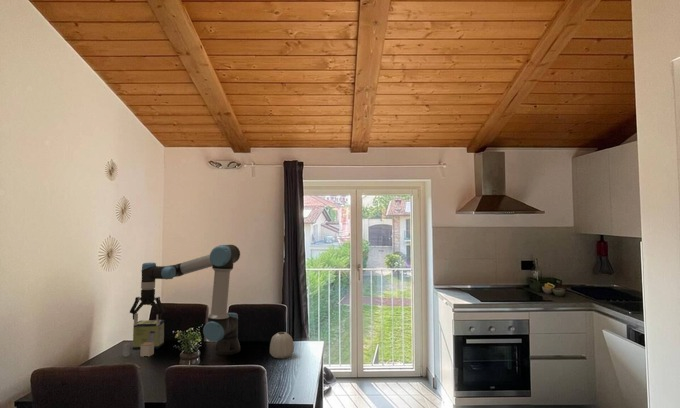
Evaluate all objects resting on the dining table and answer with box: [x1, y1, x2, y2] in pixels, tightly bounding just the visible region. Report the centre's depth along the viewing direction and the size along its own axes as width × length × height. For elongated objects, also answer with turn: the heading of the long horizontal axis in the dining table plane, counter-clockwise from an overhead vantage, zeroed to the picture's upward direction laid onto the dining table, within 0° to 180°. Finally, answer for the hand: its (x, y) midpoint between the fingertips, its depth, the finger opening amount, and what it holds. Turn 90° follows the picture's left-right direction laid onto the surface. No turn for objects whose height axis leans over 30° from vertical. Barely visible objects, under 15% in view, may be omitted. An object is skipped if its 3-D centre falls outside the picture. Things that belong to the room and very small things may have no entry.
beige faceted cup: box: [139, 342, 155, 357], centre depth 228 cm, size 5×5×7 cm
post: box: [122, 342, 131, 358], centre depth 226 cm, size 3×3×7 cm
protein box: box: [132, 319, 165, 350], centre depth 245 cm, size 10×16×16 cm
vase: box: [269, 331, 295, 359], centre depth 224 cm, size 14×14×13 cm
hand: (146, 325), depth 228 cm, fingers open, 13 cm apart
